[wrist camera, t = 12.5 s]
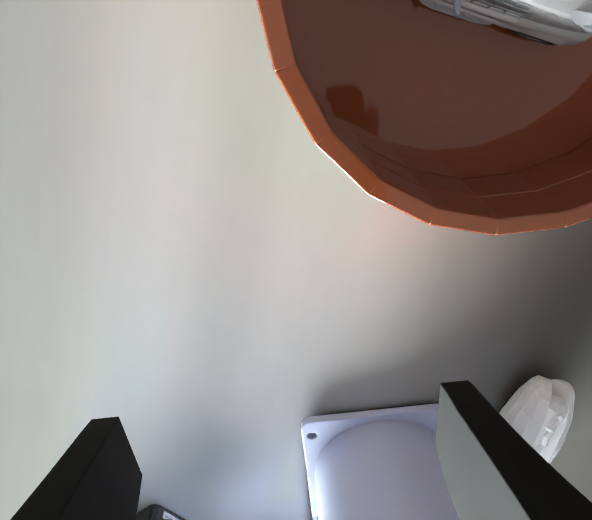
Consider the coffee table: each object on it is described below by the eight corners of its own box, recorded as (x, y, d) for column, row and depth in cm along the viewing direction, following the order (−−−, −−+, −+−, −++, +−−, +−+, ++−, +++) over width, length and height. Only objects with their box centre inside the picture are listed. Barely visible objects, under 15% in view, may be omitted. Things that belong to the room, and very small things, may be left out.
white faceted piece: (454, 464, 27) (473, 513, 24) (516, 357, 23) (545, 402, 20) (505, 470, 27) (528, 517, 25) (574, 366, 23) (609, 410, 21)
